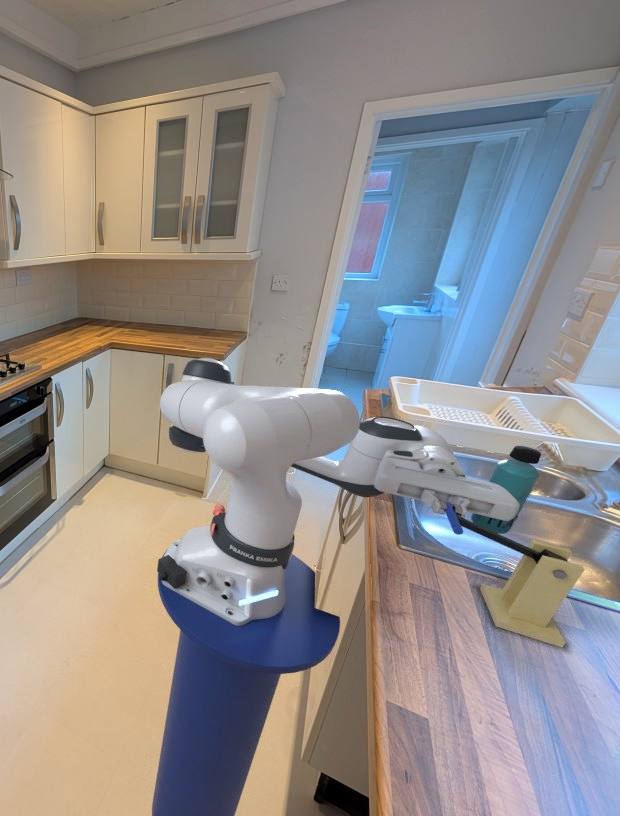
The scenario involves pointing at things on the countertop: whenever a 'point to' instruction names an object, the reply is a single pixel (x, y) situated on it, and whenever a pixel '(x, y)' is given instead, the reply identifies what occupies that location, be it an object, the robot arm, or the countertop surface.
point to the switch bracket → (534, 594)
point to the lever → (495, 536)
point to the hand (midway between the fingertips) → (450, 512)
